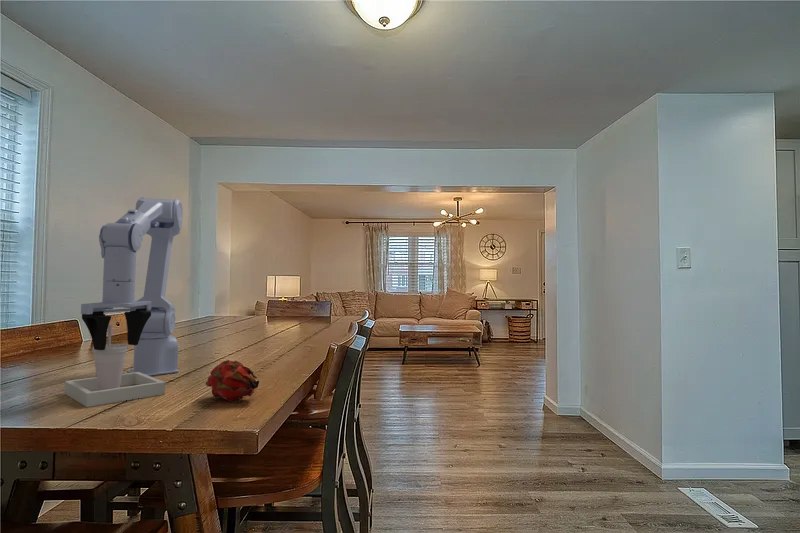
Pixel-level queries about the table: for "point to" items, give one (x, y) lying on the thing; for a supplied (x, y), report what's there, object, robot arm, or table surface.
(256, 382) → the dragon fruit
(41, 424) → the table surface
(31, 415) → the table surface
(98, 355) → the smoothie
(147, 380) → the white shallow square frame
